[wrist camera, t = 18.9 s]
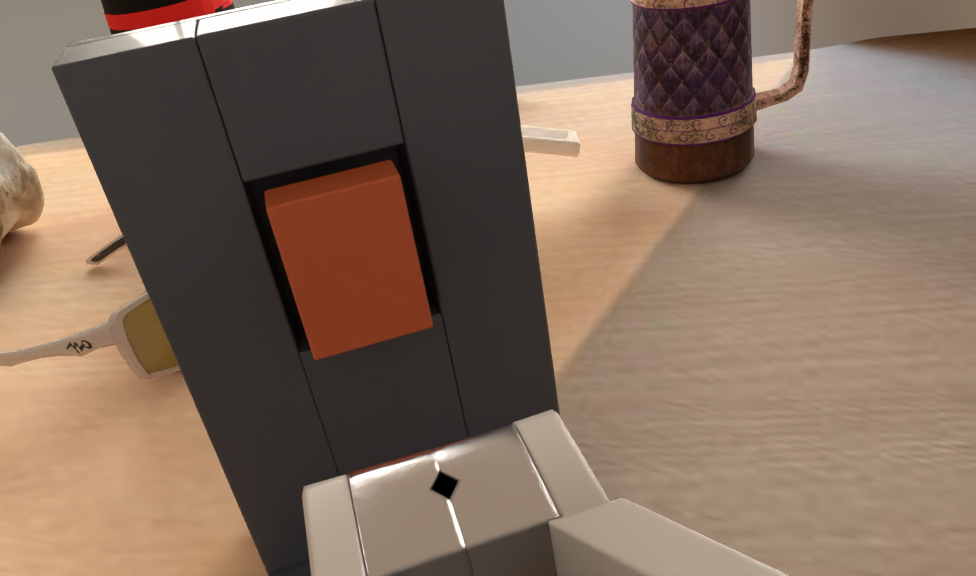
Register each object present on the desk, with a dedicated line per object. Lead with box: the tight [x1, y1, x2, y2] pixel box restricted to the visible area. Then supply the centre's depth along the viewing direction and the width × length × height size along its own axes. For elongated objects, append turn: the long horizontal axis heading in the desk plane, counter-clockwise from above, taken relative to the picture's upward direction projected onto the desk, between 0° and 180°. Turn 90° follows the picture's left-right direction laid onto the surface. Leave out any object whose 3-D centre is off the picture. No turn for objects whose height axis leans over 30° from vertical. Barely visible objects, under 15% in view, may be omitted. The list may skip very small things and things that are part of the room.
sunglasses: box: [0, 234, 180, 379], centre depth 42 cm, size 14×15×5 cm
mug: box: [631, 0, 814, 183], centre depth 46 cm, size 10×7×12 cm
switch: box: [264, 160, 433, 360], centre depth 21 cm, size 1×3×4 cm, turn 106°
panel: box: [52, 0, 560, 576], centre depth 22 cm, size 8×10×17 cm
